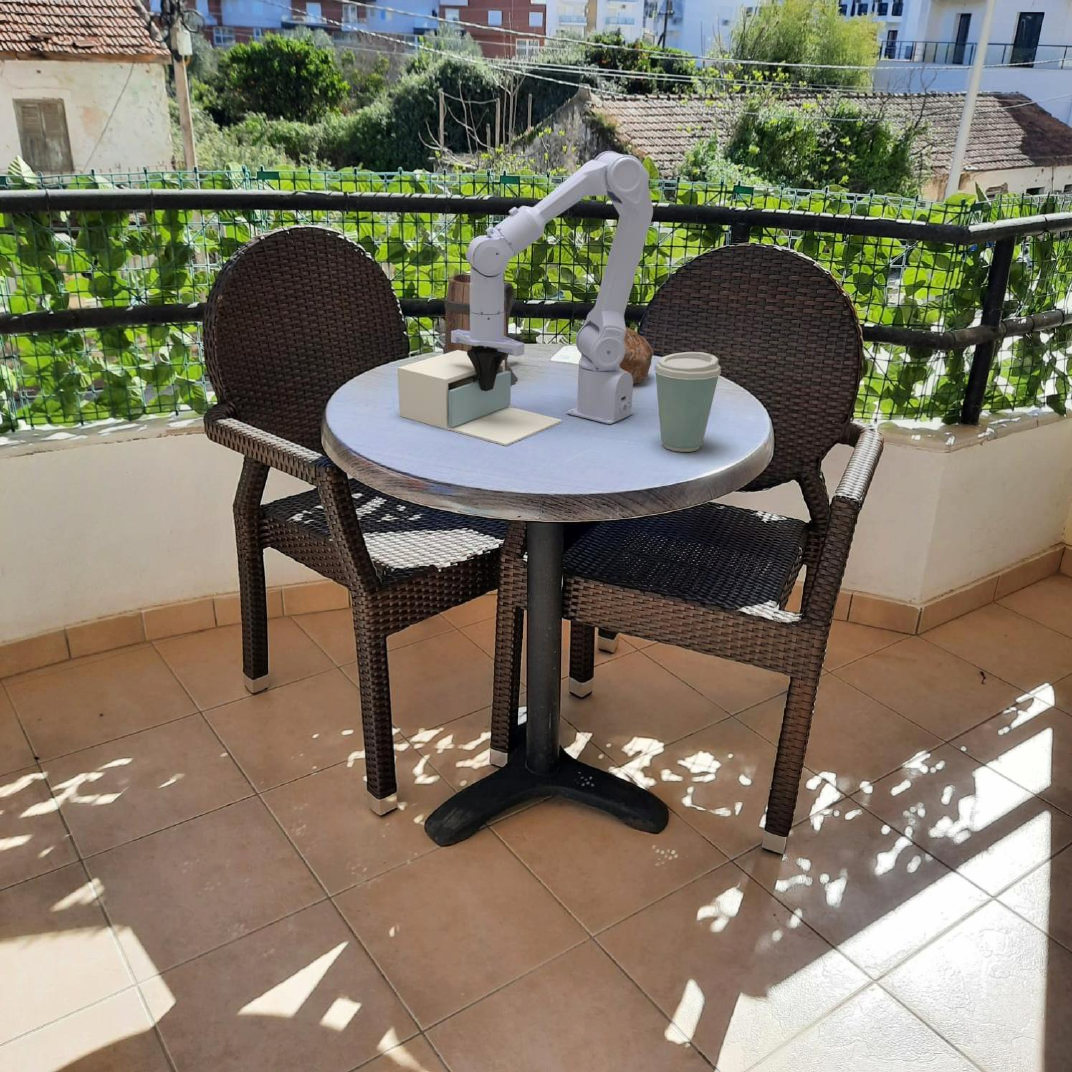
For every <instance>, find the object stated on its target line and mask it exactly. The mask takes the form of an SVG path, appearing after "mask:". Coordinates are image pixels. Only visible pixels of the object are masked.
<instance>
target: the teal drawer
mask: <svg viewBox="0 0 1072 1072" xmlns="http://www.w3.org/2000/svg"><path fill="white" fill-rule="evenodd" d="M511 389H512V386H511V372H510V371H505V372H502V373H499V374H497V376H496V379H495V383H494V387H493V389H492V390H489V391H482V390H481V389H480V385H479V381H476V382H473V383H470V384H467V385H464V386H461V387H458V388H455V389H452V390H449V426H450V427H455V426H457V425H460V424H463V423H465V422H468V421H470V420H473V419H476V418H478V417H481V416H484V415H486V414H489V413H491V412H494V411H497V410H499V409H502V408H505V407H507V406H509V407H511V400H512V399H511V397H512V396H511V391H512V390H511Z"/></svg>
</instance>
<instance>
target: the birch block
mask: <svg viewBox="0 0 1072 1072" xmlns="http://www.w3.org/2000/svg"><path fill="white" fill-rule="evenodd" d="M470 383H473V379H471V378H467V377H466V378H463V379H460V380H457V381H454V382H451V383H448V401H449V390H452V389H455V388H458V387H461V386H464V385H467V384H470Z"/></svg>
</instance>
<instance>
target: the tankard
mask: <svg viewBox="0 0 1072 1072" xmlns="http://www.w3.org/2000/svg"><path fill="white" fill-rule="evenodd" d="M470 281H471V280H470V274H465V273H458V274H453V275H450V276H449V278H448V284H447V291H446V296H445V297H444V308H445V323H444V324H445V325H444V327H445V328H444V329H445V330H444V331H445V332H444V345H443V346H442V347H443V350H442V351H443V352H442V353H443V354H446V353H449V352H453V351H456V350H461V351H465V352H467V351H468V350H471V348H472V345H468V344H463V343H459V342H458V343H453V342H451V331H454V330H458V329H459V330H465V331H470ZM503 283H504V336H506V337H508V338H510V339H513V340H515V341H518V342H522V343H523V341H522V340H523V339H522V337H521V335H520V334H519V333H515V332H514V333H513V332H509V325H510V324H509V322H510V317H511V316H510V315H511V311H512V309H513V305H514V300H515V293H516V292H515V287H514V284H512V283H511V282H506V281H503ZM509 355H510V356H513V354H509V353H507V354H506V356H505V357H504V359H503V360H505V371H510V372H511V387H513V386H514V385H516V384H517V383H518V381H519V379H518V376H516V375H515V373H514V372H513V369H512V368H511V367H510V366H508V358H509ZM516 382H517V383H516ZM512 385H513V386H512Z"/></svg>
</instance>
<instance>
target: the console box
mask: <svg viewBox="0 0 1072 1072" xmlns="http://www.w3.org/2000/svg"><path fill="white" fill-rule="evenodd" d="M502 372H505V360H503V361H502V363H501V365H500V367H499V370H498V372H497V374H499V373H502ZM466 377H467V378H471V379H473V382H476V381H478V377H477V374H476V371H475V369H474V366H473V364H472V362H471V360H470V359H469V357H468V355H467V352H465V351H461V350H456V351H453V352H449V353H446V354H440V355H437V356H433V357H429V358H426V359H423V360H420V361H416V362H412V363H409V364H406V365H403V366H399V367H397V384H398V407H399V408H398V409H399V413H398V414H399V417H401V418H406V419H408V420H412V421H415V422H419V423H423V424H426V425H430V426H433V427H436V428H441V429H443V430H448V431H450V430H451V431H452V432H453V433H457V434H458V433H459V434H461V435H465V436H468V437H472V438H476V439H479V438H480V440H482V441H486V440H487V442H489V441H490V443H493V444H496V443H498V444H497V445H500V446H503V445H504V447H508V446H510V445H513V444H515V443H517V442H519V440H520V441H522V440H524V439H527V438H529V437H531V436H533V435H536V434H538V433H541V432H543V431H545V430H547V428H548V429H551V428H553V427H554V425H555V426H557V425H559V424H561V423H563V420H562V419H560V418H556V417H552V416H548V415H544V414H540V413H535V412H532V411H529V410H526V409H525V410H524V409H522V408H521V409H520V408H517V407H512V406H507V407H505V408H502V409H499V410H497V411H494V412H491V413H489V414H486V415H484V416H481V417H478V418H476V419H473V420H470V421H468V422H465V423H463V424H460V425H457V426H455V427H450V426H449V401H448V383H451V382H454V381H457V380H460V379H463V378H466ZM542 430H543V431H542ZM451 431H450V432H451ZM540 431H541V432H540ZM512 443H513V444H512Z"/></svg>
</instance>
